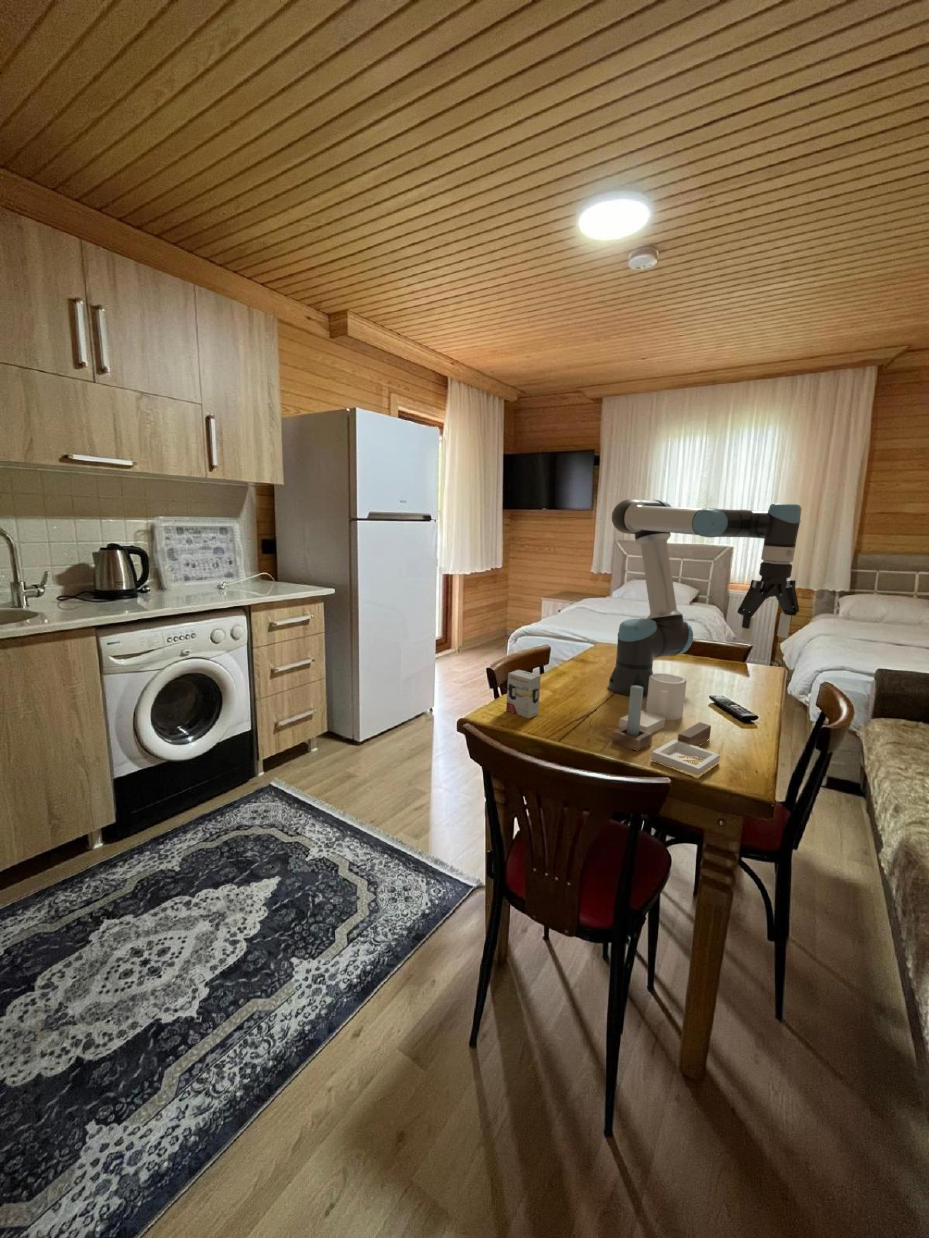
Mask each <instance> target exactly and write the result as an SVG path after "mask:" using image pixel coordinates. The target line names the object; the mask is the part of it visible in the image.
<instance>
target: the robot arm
mask: <svg viewBox="0 0 929 1238" xmlns="http://www.w3.org/2000/svg"><path fill="white" fill-rule="evenodd" d="M801 514H802V507H801V506H800V504H795V503H771V504H770V505H769V508H768V510H756V509H755V510H753V509H752V510H751V509H724V508H723V509H721V508H713V507H712V508H701V507H681V506H680V507H677V506H676V507H675V506H671V504H669V503H668V502H666V501H664V500H659V499H658V500H657V499H635V498H633V499H625V500H621V501H620V502H618V504H617V505H616V506H615V507H614V508H613V510H612V513H611V522H612V525H613V526H614V528H615V529H616V530H617V531H619V532H620V533H623V534H627V535H628V534H629V535H630V534H631V535H634V539H635V543H636V544H637V545H640V549H641V556H642V557H641V558H642V563H643V570H644V577H645V584H646V585H645V586H646V592H647V599H648V600H647V601H648V606H649V611H650V612H649V615H648V616H647V618H629V619H626V620H624V621H622V622H621V623H620V624H619V627H618V633H617V645H616V646H617V647H616V657H615V666H614V668H613V671H612V673H611V674H610V677H609V680H608V686H607V687H608V689H609V690H610V691H612V692H614V693H617V694H618V695H619V694H620V695H624V696H629V697H630V690H631V686H634V685H635V686H641V687H643V697H647V696H648V686H649V676H650V675H652V674H654V672H653V665H654V658H663V657H674V656H678V655H682V654H684V653H686V652H687V651H688V650H689V648H691V645H692V643H693V640H694V631H693V628H692V626H691V625H689V622H687V621H685V620H684V616H683V613H681V612H680V611H679V610H678V608H677V602H676V601H677V600H676V594H675V589H674V582H673V575H672V573H673V572H672V566H671V561H670V555H669V546H668V540H670V537H671V533H672V534H680V535H681V534H683V535H693V536H700V537H703V538H750V539H751V538H752V539H753V538H754V539H763V546H762V551H761V557H760V558H761V560H762V562H760V566H759V571H758V574H759V576H760V577H761V578H760V580H758V579H757V580H756V579H751V581H750V584H749V589H748V590H747V591H746V593H745V596H744V598H743V600H742V602H741V603H740V606H739V607H738V609H737V611H736V612H737V613H738V614H739V615H740V616H742V623H741V628H742V629H741V635H740V639H742V640H745V641H748V642H751V641H752V639H753V638H752V636H753V633H754V632H753V630H754V625H755V619H756V618H755V617H754V615H755V613H756V612H757V611H758V610H759V608H760V607H761V606H762V605H763V603H764V602H765V601H766V600H767V599H769V598H772V597H773V598H774V597H776V600H777V602H778V604H779V606H780V608H781V610H782V612H783V613H780V615H779V622H778V628H777V632H776V633H777V634H776V636H777V637H780V638H783V639H788V637H789V636H788V635H789V630H790V626H791V622H792V617H793V616H794V617H795V616H797V615H798V614H797V613H799V612H800V608H799V606H800V605H799V601H798V596H797V591H796V580H795V579H791V576H792V570H793V565H792V563H793V562H794V557H795V551H796V546H797V545H796V544H797V539H798V533H799V528H800V524H801Z"/></svg>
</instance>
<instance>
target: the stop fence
mask: <svg viewBox="0 0 929 1238" xmlns="http://www.w3.org/2000/svg"><path fill="white" fill-rule="evenodd" d="M711 728H712V725H711V724H708V723H703V722H697V723H696V724H694V725H691V726H690V727H688V728H686V729H684V730H682V731H681V732H679V733H678V734H677V740H679V741H682V742H685V743H688V744H691V745H694V746H699V745H700V744H702V743H704V742H705V743H707V742H708V741H707V740H708V739H709V740H710V739H711V738H710V737H711ZM706 741H707V742H706ZM705 743H704V744H705ZM702 745H703V744H702ZM700 746H701V745H700ZM700 746H699V747H700Z"/></svg>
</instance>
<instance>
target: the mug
mask: <svg viewBox="0 0 929 1238" xmlns="http://www.w3.org/2000/svg"><path fill="white" fill-rule="evenodd" d="M686 688H687V679H686V678H684V677H682V676H680V675H675V674H669V673H653V674H652V675H650V676H649V686H648V696H646V697H647V698H646V706H645V712H647V713H650V714H654V715H657V716H660V717H664V718H665V720H671V721H672V720H673V721H675V720H680V719H682V718H683V715H684V705H685V698H686V692H687V691H686V690H687V689H686Z"/></svg>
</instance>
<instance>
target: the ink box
mask: <svg viewBox="0 0 929 1238" xmlns="http://www.w3.org/2000/svg"><path fill="white" fill-rule="evenodd" d="M506 688H507V689H506V706H505V708H506V710H507V712H508V711H509V713H511V712H513V713H512V714H514V713H515V714H514V715H517V716H520V715H521V717H524V718H526V719H531V718H533V717H536V716H538V715H539V711H540V708H539V707H540V691H541V676H540V675H539V674H536V673H532V672H529V671H526V670H521V669H516V670H514V671H511V672H508V673H507V687H506ZM506 710H505V711H506Z"/></svg>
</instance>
